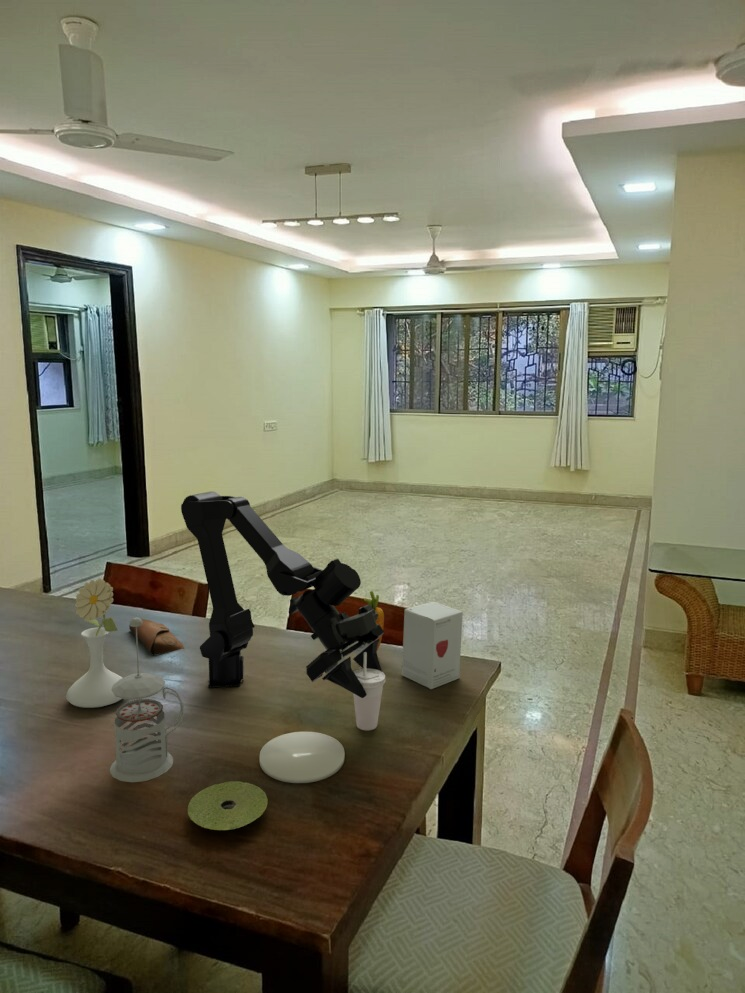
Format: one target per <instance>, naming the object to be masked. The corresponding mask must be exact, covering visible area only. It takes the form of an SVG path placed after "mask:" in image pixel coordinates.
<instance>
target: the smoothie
mask: <svg viewBox="0 0 745 993" xmlns="http://www.w3.org/2000/svg"><path fill="white" fill-rule="evenodd" d="M366 664H367V652H364V660H363V668H359V669H356V670H353V672H354V673H355V675H356V677H357V678H358V680H359V681H360V683H361V685H362V686H363V688H364V690H365V692H366V694H367V695H366V696H365V697H364V698H361V697H359V696H357V695H356V694H354V693H352V695H353V703H354V712H355V713H354V714H355V722H356V727H357V728H358V729H360V730H362V731H372V730H375V729H376V728H377V727H378V722H379V721H378V720H379V715H380V708H381V701H382V697H383V696H382V695H383V688H384V685H385V683H386V674H385V673H384V672H383V671H382V672H381V671H379V670H376V669H370V668H366Z"/></svg>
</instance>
